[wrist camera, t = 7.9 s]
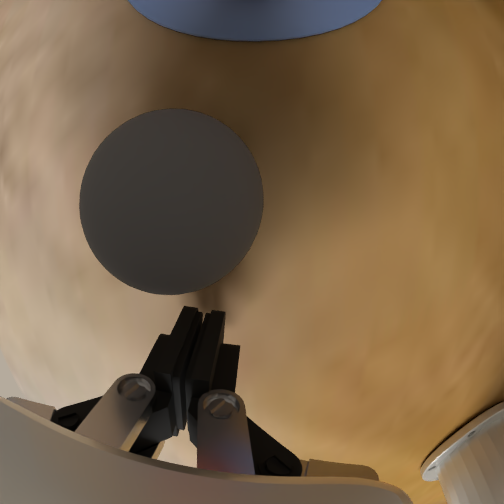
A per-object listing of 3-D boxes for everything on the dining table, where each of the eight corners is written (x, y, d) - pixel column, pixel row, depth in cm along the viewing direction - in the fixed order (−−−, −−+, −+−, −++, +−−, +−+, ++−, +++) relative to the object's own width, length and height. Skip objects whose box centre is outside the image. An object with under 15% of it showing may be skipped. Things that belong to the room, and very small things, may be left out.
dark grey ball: (222, 359, 7) (258, 250, 12) (264, 152, 4) (289, 116, 9) (63, 297, 8) (139, 218, 12) (31, 124, 5) (144, 95, 9)
